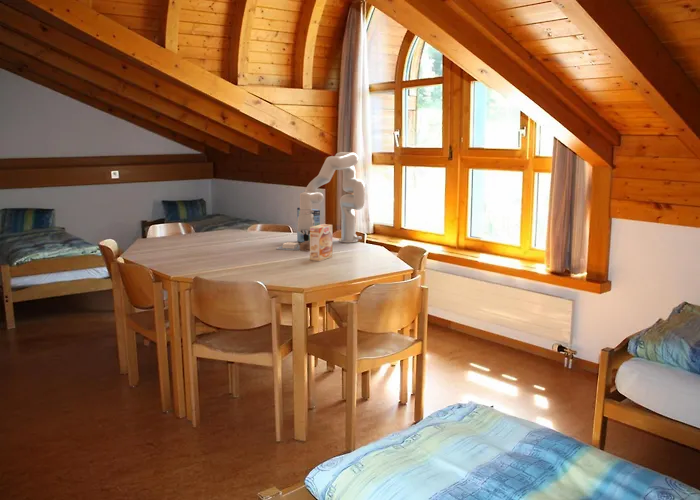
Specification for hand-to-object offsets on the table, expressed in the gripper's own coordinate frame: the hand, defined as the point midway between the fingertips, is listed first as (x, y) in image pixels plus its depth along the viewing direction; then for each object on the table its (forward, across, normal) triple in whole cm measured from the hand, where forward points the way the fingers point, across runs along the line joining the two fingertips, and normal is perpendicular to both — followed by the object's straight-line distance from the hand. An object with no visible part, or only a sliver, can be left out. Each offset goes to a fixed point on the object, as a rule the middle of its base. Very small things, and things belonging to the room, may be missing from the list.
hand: (306, 240), depth 430 cm
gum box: (+5, +5, -20) cm, 21 cm away
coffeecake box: (+5, -19, +29) cm, 35 cm away
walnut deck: (+5, -2, 0) cm, 6 cm away
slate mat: (+5, +10, 0) cm, 11 cm away
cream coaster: (+4, +10, 0) cm, 11 cm away
